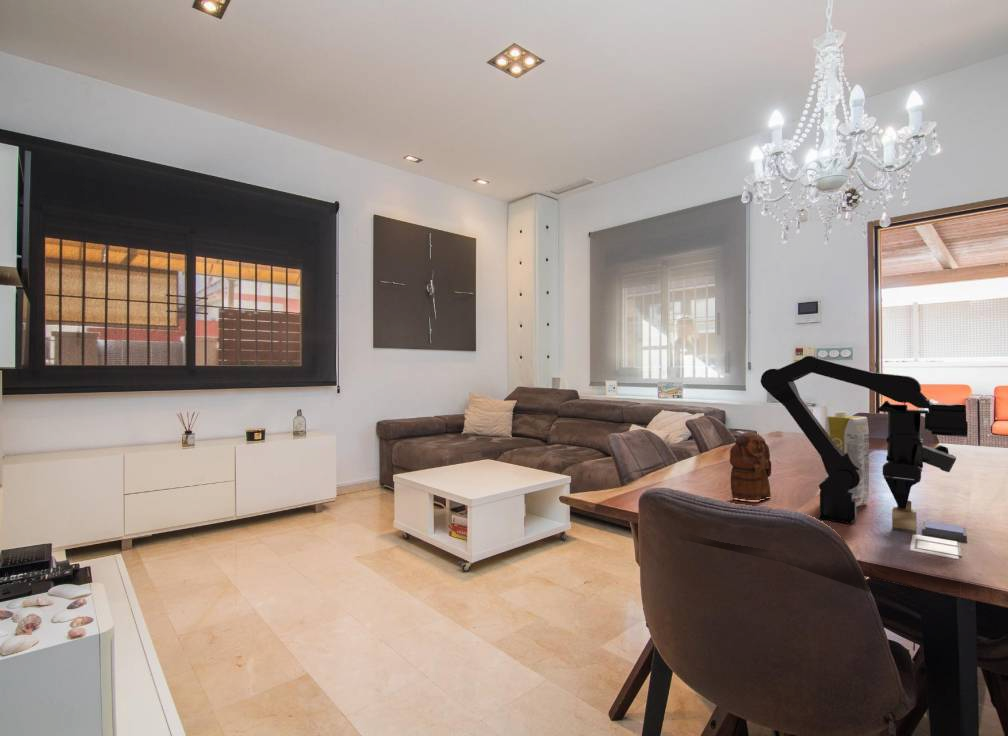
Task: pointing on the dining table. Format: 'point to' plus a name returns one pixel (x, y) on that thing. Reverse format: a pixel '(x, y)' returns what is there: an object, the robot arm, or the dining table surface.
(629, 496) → the dining table surface
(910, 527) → the stamp
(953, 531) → the pad
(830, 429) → the juice carton
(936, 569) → the dining table surface
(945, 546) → the white rectangular plate
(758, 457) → the wooden figurine
